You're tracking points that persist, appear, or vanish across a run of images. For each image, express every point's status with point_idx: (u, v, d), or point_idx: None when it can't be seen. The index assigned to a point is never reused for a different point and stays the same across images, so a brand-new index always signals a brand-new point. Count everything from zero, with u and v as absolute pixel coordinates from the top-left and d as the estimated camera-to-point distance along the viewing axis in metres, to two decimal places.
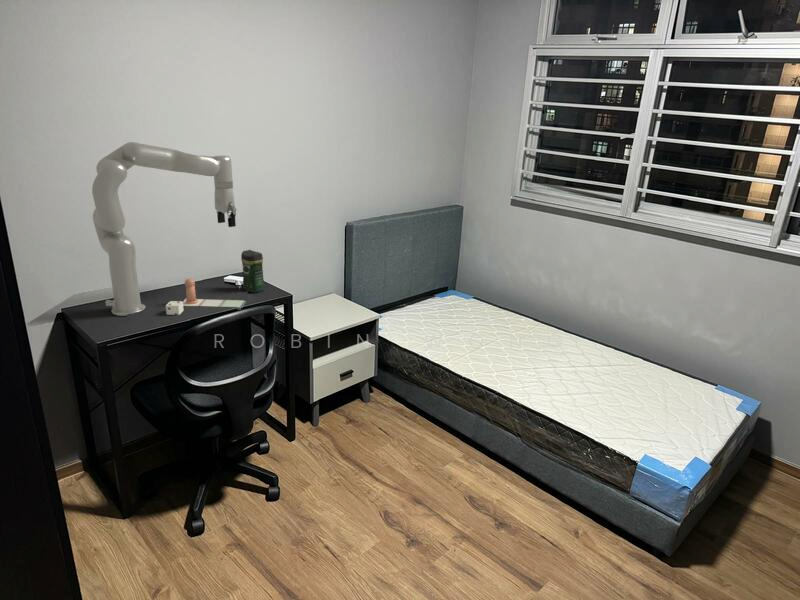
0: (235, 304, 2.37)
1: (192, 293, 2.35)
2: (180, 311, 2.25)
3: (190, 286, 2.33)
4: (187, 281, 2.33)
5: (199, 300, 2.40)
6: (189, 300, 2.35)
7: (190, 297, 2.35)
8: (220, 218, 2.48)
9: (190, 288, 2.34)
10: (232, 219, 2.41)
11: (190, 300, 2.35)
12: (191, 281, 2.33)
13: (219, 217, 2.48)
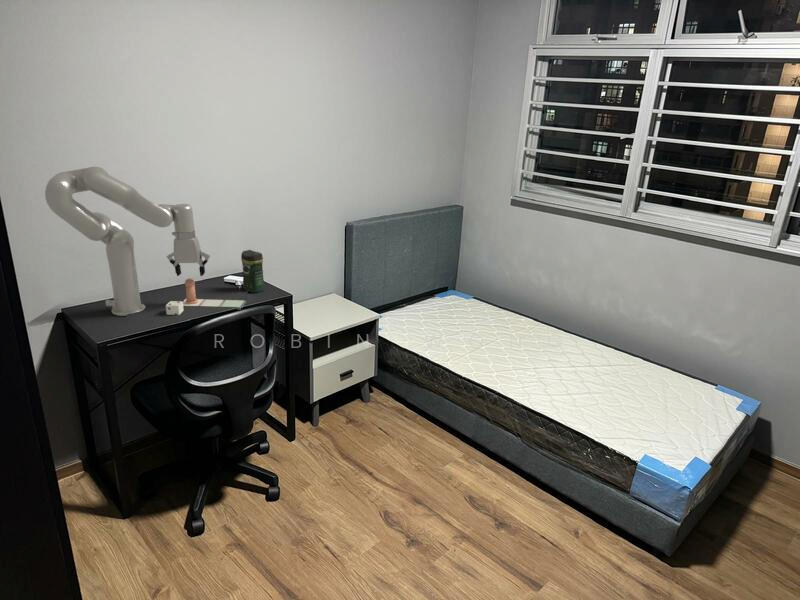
0: (235, 304, 2.37)
1: (192, 293, 2.35)
2: (180, 311, 2.25)
3: (190, 286, 2.33)
4: (187, 281, 2.33)
5: (199, 300, 2.40)
6: (189, 300, 2.35)
7: (190, 297, 2.35)
8: (178, 270, 2.32)
9: (190, 288, 2.34)
10: (203, 267, 2.33)
11: (190, 300, 2.35)
12: (191, 281, 2.33)
13: (178, 269, 2.32)
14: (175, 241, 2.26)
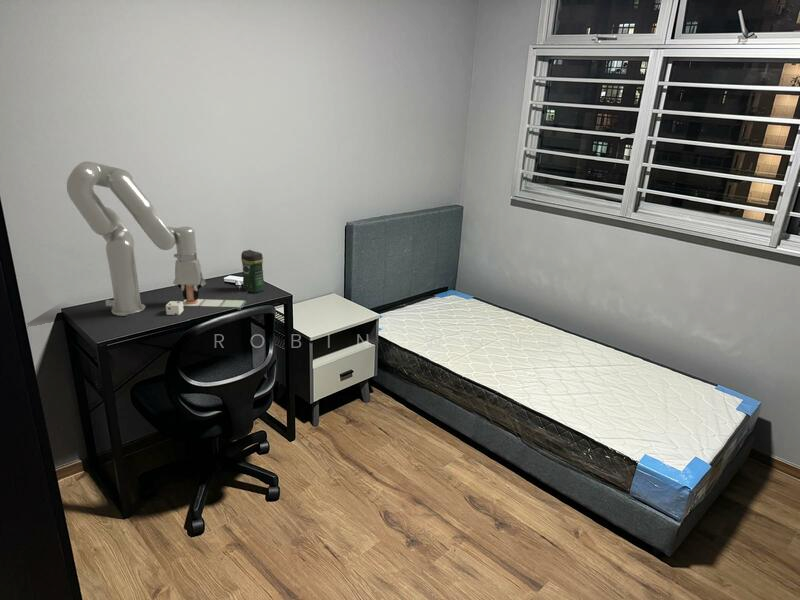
0: (235, 304, 2.37)
1: (192, 293, 2.35)
2: (180, 311, 2.25)
3: (190, 286, 2.33)
4: None
5: (199, 300, 2.40)
6: (189, 300, 2.35)
7: (190, 297, 2.35)
8: None
9: (190, 288, 2.34)
10: (198, 291, 2.36)
11: (190, 300, 2.35)
12: None
13: (185, 293, 2.35)
14: (177, 263, 2.29)
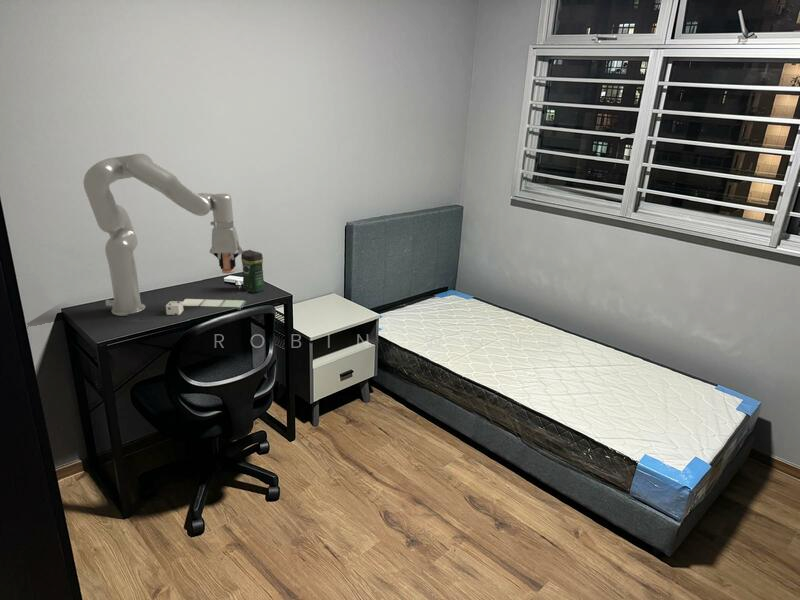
0: (235, 304, 2.37)
1: (229, 262, 2.31)
2: (180, 311, 2.25)
3: (227, 254, 2.29)
4: None
5: (199, 300, 2.40)
6: (226, 269, 2.31)
7: (227, 266, 2.31)
8: (222, 263, 2.31)
9: (227, 256, 2.29)
10: (234, 260, 2.32)
11: (227, 269, 2.31)
12: None
13: (222, 263, 2.31)
14: (213, 231, 2.25)
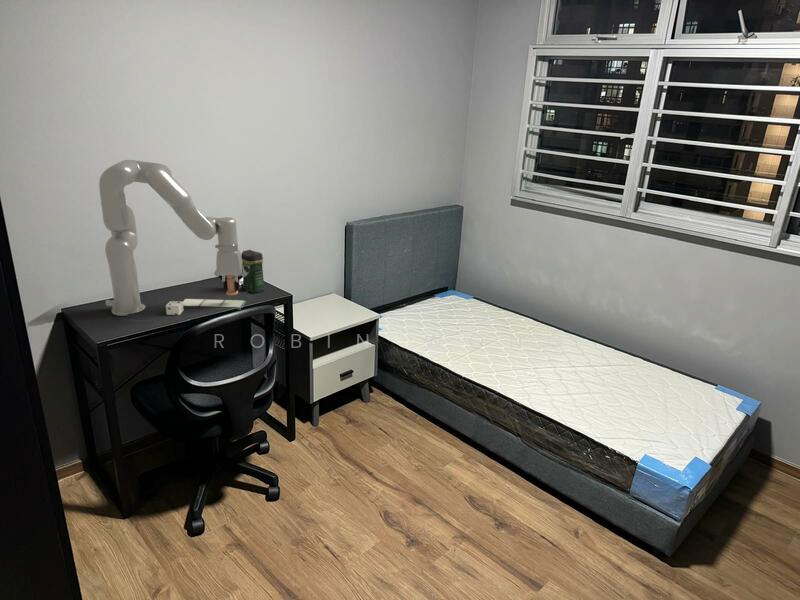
0: (235, 304, 2.37)
1: (233, 284, 2.34)
2: (180, 311, 2.25)
3: (231, 277, 2.32)
4: None
5: (199, 300, 2.40)
6: (230, 291, 2.34)
7: (231, 288, 2.34)
8: None
9: (231, 279, 2.33)
10: (238, 282, 2.35)
11: (231, 291, 2.34)
12: None
13: (226, 285, 2.34)
14: (218, 254, 2.28)
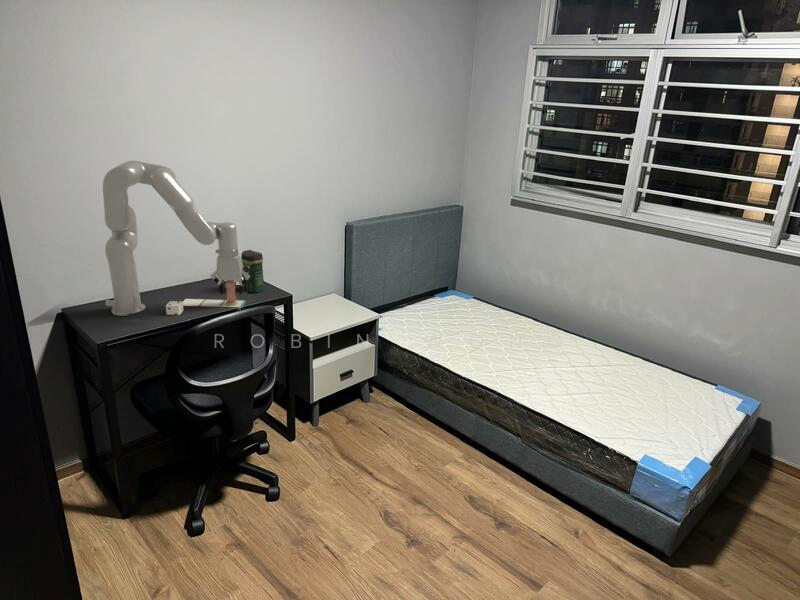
0: None
1: (233, 294, 2.35)
2: (180, 311, 2.25)
3: (231, 287, 2.34)
4: (228, 282, 2.33)
5: (199, 300, 2.40)
6: (229, 301, 2.36)
7: (230, 298, 2.35)
8: (222, 289, 2.35)
9: (231, 289, 2.34)
10: (242, 286, 2.35)
11: (230, 301, 2.36)
12: (232, 282, 2.34)
13: (222, 288, 2.35)
14: (218, 259, 2.29)
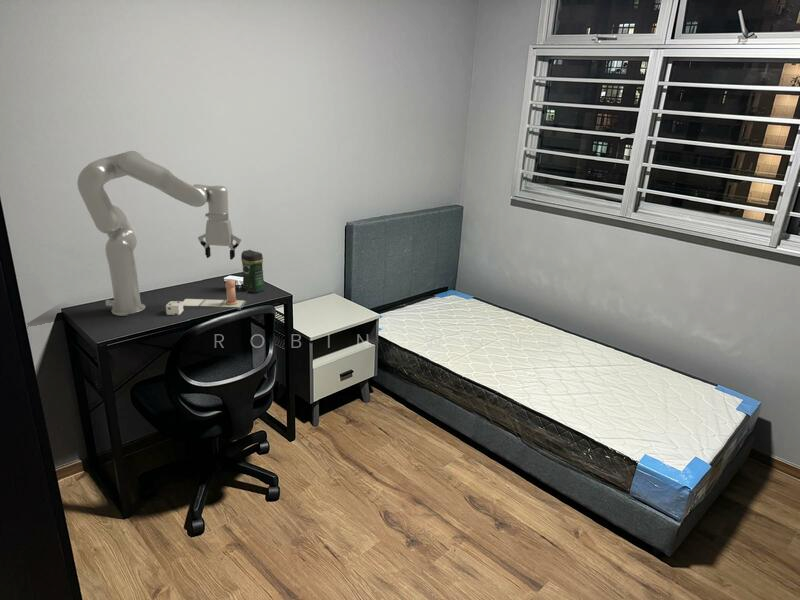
0: None
1: (233, 294, 2.35)
2: (180, 311, 2.25)
3: (231, 287, 2.34)
4: (228, 282, 2.33)
5: (199, 300, 2.40)
6: (229, 301, 2.36)
7: (230, 298, 2.35)
8: (208, 252, 2.30)
9: (231, 289, 2.34)
10: (234, 251, 2.31)
11: (230, 301, 2.36)
12: (232, 282, 2.34)
13: (208, 251, 2.30)
14: (208, 222, 2.24)
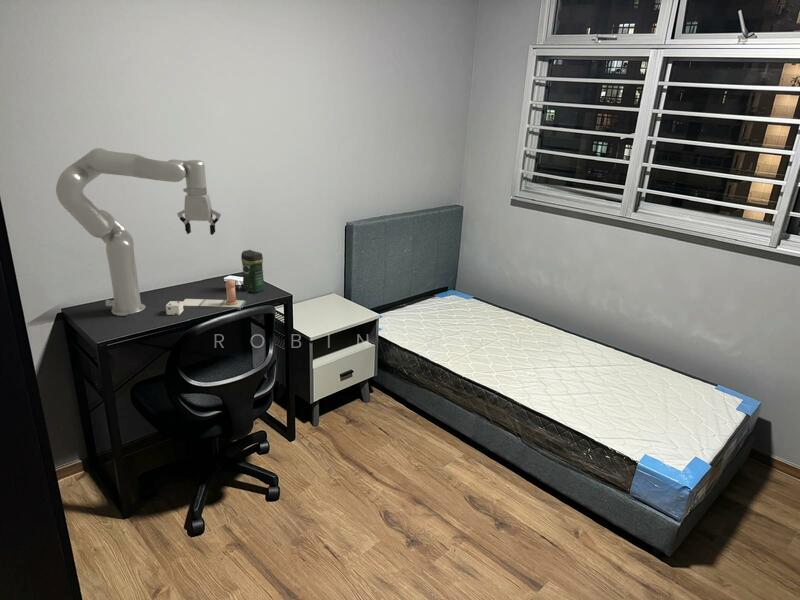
0: None
1: (233, 294, 2.35)
2: (180, 311, 2.25)
3: (231, 287, 2.34)
4: (228, 282, 2.33)
5: (199, 300, 2.40)
6: (229, 301, 2.36)
7: (230, 298, 2.35)
8: (188, 228, 2.29)
9: (231, 289, 2.34)
10: (214, 226, 2.29)
11: (230, 301, 2.36)
12: (232, 282, 2.34)
13: (188, 227, 2.29)
14: (186, 197, 2.23)
